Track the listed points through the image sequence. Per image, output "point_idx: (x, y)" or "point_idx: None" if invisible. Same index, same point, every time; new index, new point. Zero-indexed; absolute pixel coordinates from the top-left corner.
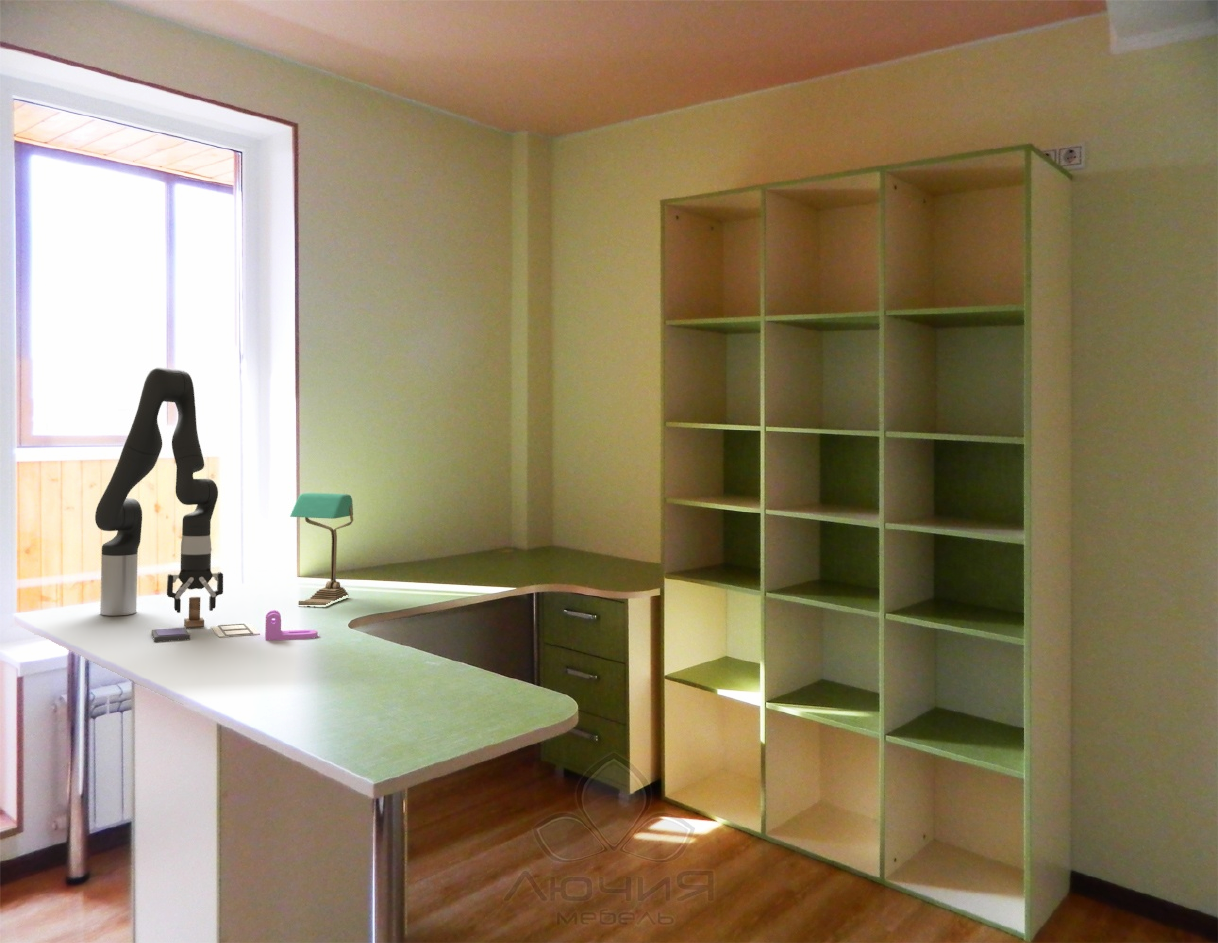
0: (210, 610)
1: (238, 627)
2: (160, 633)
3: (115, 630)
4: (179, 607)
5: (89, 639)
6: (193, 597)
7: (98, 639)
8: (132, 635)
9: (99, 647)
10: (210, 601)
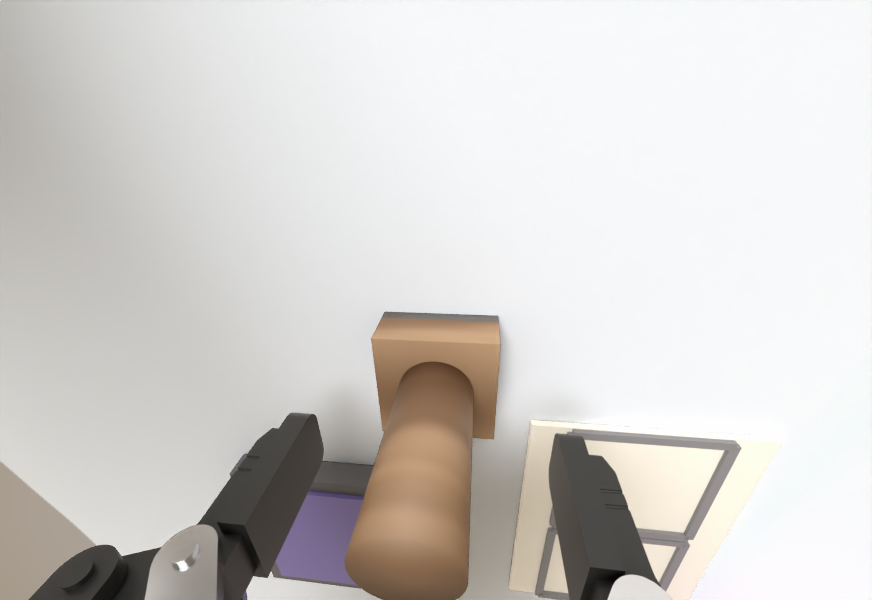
0: (551, 475)
1: (659, 496)
2: (283, 554)
3: (37, 312)
4: (298, 495)
5: (33, 447)
6: (391, 563)
7: (67, 458)
8: (169, 443)
9: (132, 550)
10: (564, 566)
